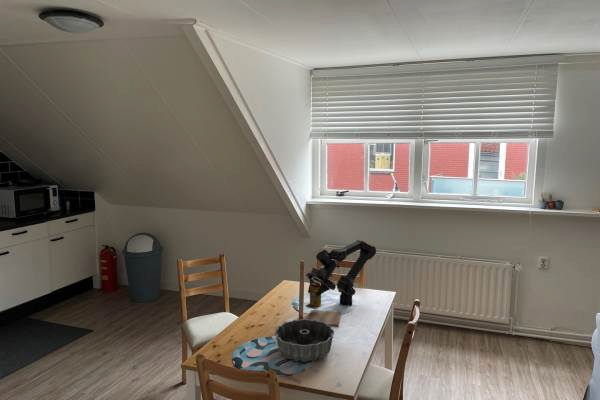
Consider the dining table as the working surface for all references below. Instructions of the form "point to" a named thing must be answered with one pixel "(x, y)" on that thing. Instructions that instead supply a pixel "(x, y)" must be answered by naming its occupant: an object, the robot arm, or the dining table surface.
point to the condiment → (314, 297)
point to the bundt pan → (304, 339)
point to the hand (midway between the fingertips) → (312, 294)
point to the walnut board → (326, 317)
